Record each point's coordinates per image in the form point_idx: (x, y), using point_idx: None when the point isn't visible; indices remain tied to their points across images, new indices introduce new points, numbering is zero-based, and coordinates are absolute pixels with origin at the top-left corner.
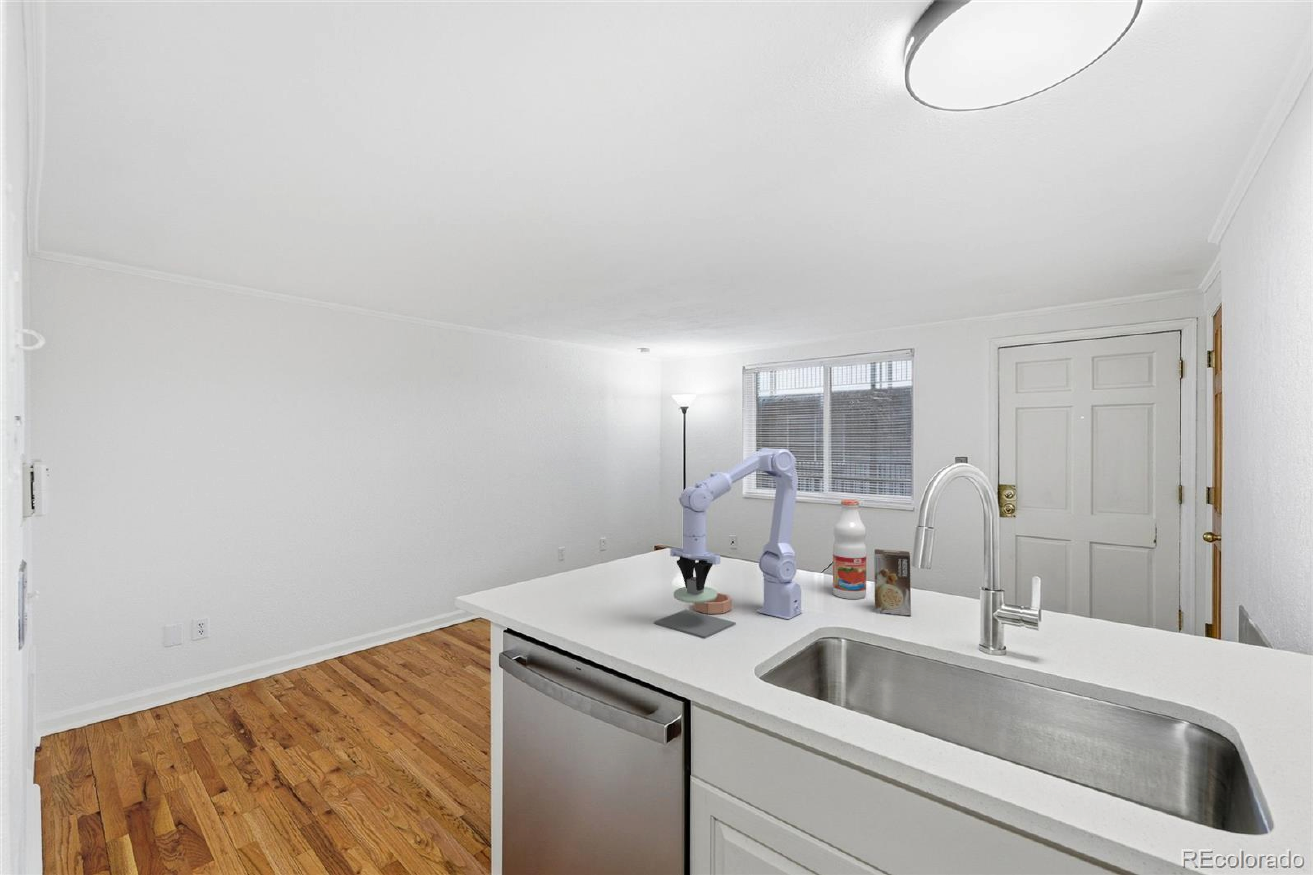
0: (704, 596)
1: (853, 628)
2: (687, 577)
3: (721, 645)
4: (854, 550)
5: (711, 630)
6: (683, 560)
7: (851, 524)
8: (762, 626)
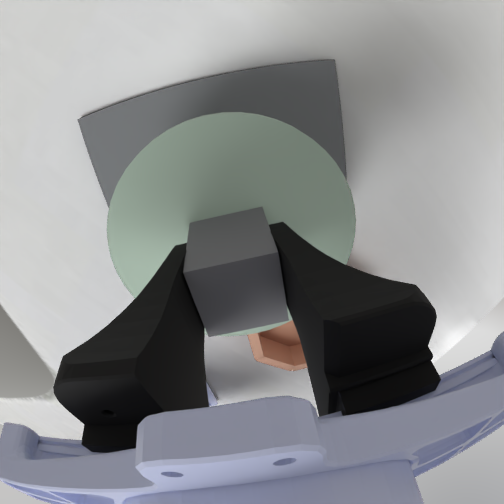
0: (143, 242)
1: (47, 400)
2: (287, 269)
3: (16, 135)
4: None
5: (113, 174)
6: (374, 365)
7: None
8: (100, 319)
